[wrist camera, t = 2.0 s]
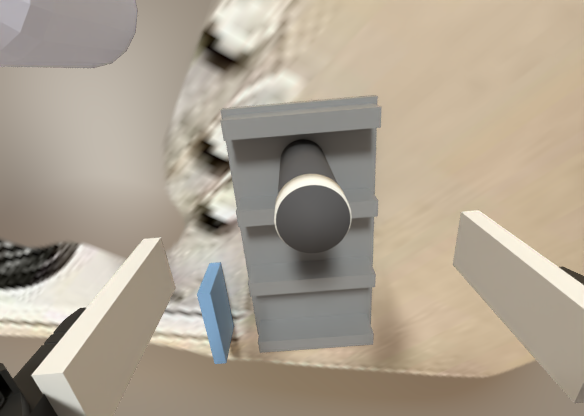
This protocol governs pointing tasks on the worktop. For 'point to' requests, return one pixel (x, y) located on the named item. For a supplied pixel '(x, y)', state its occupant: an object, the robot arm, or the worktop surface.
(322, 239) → the grey banded cylinder
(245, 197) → the grey slotted rack
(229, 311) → the blue rectangular block
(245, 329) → the worktop surface
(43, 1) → the soap bottle
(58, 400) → the robot arm
